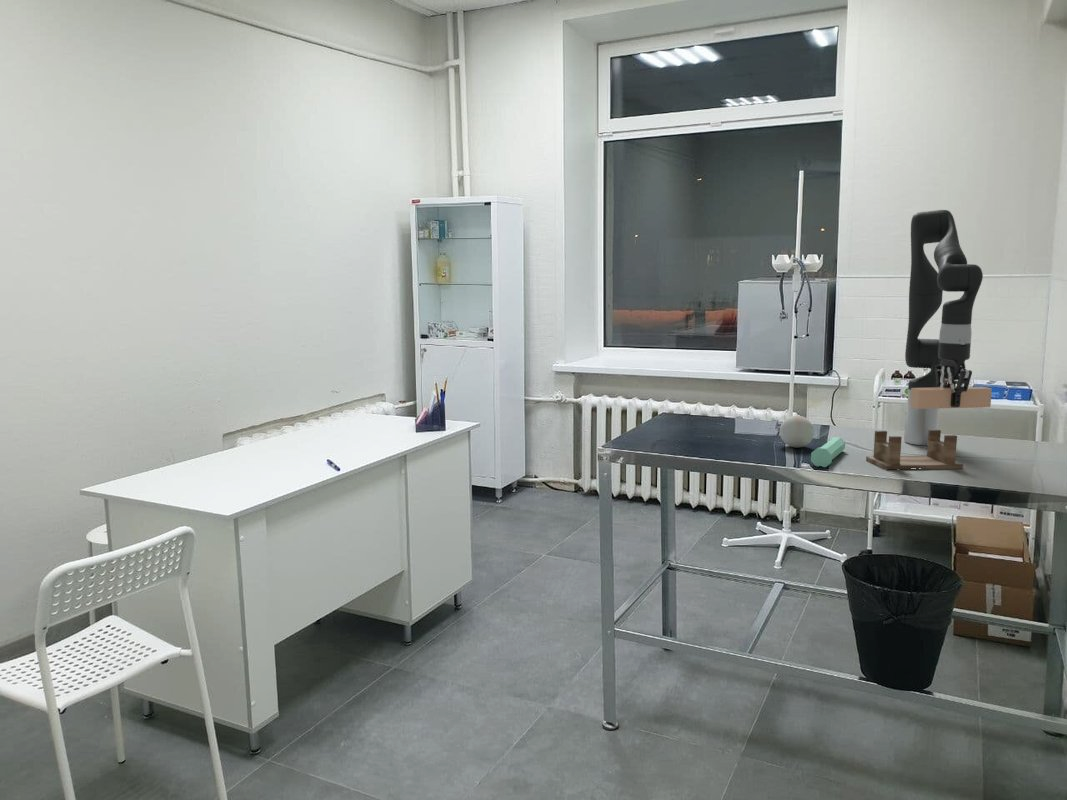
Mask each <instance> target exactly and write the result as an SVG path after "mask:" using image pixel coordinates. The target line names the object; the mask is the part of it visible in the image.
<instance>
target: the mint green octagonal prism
mask: <svg viewBox="0 0 1067 800" xmlns="http://www.w3.org/2000/svg"><path fill="white" fill-rule="evenodd" d="M845 449H846V441H845V440H844V439H843V438H842V437H840V436H839V437H838V436H834V437H833V438H831V439H830V440H829V441H828V442H826V443H825V444H823V445H822V446H821V447H817V448H816V449H814V450H813V451H812V452H811V453H810V461H811V463H813V465H814V466H815V467H819V466H822V468H827V467H828V466H829V465H831V464H832V462H833V461H832V460H834V459H835V458H836V457H837V456H839V455H840V453H842V452H843V451H844V450H845Z"/></svg>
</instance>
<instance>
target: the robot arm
mask: <svg viewBox="0 0 1067 800" xmlns="http://www.w3.org/2000/svg"><path fill="white" fill-rule="evenodd" d="M937 243H938V244H937ZM926 244H937V245H935V249H934V251H933V252H934V253H933V259H934V262H935V264H936V266H937V269H938V271H937V270H936V268H934V266H933V265H932V264H931V262H930V260H929V259H928V257H927V255H926V253H925V249H924V246H925V245H926ZM910 254H911V255H910V259H911V261H910V263H911V264H910V277H909V288H908V289H909V290H908V323H907V324H908V326H907V335H906V341H905V342H906V343H905V352H904V353H905V355H904V356H905V357H904V358H905V364H906V366H907V367H908V368H913V369H930V371H929V372H927V373H926V374H924V375H922V376H920V377H915V378H911V379H910V380H909V381H908V384H907V385H908V386H907V401H906V404H907V405H906V412H905V419H904V434H903V435H904V436H903V439H904V443H907V444H910V445H916V446H928V431H929V430H938V426H939V411H940V410H939V409H940V408H936V409H917V408H914V407H910V400H911V388H935V387H951V389H952V393H951V407H959V406H960V399H961V393H963V392H966V391H967V389H968V387H970V386H969V385H970V381H971V378H972V375H973V370H971V369H970V370H969V369H967V368H966V362H965V361H967V360H969V359H970V357H971V345H972V333H973V332H972V319H973V317H972V316H973V308H974V304H975V300H976V297H977V295H978V292H979V290H980V287H981V285H982V282H983V278H984V277H983V276H984V275H983V270H982V268H981V267H980V266H979V265H977V264H975V263H974V264H973V263H971V264H968V260H967V259H968V258H967V257H966V255H965V253H964V251H963V249H962V247H961V244H960V241H959V234H958V231H957V225H956V222H955V218H954V216H953V214H952V213H951V211H950V210H947V209H936V210H929V211H928V210H926V211H919V212H915V213H914V214H913V215H912V218H911V222H910ZM943 292H949V293H952V292H955V293H956V292H957V293H958V292H959V293H960V292H963V294H962V295H961V297H960V298H958V299H953V300H949V301H945V302H944V303H943V294H944V293H943ZM942 303H943V305H942ZM941 305H942V308H941ZM940 308H941V309H942V310H941V311H942V312H941V323H940V330H939V337H938V339H937V338H935V339H934V338H919V336H920V334H921V331H923V328H924V326H925V325H926V324H927V323H928V322H929V321H930V320H931V319H932V317H933V316H934V315H935V314H936V313H937V312H938V310H939V309H940Z"/></svg>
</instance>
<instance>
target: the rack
mask: <svg viewBox="0 0 1067 800" xmlns="http://www.w3.org/2000/svg"><path fill="white" fill-rule="evenodd" d="M941 434H942V430H940V429H937V430H929V431H928V445H926V446H927V449H926V455H925V454H923V455H922V454H921V455H920V454H919V455H901V454H902V453H901V451H902V436H900V435H897V436H896V435H892V436H891V435H890V436H888V431H887V430H874V443H873V455H871V456H870V455H869V456H866V457H865V461H867V462H869V463H870V464H872V465H875V466H877V467H879V468H880V469H881V468H882V469H883V470H885V469H886V471H889V470H888V469H891V470H890V471H893V470H892V469H911V468H916V470H952V469H953V470H956V469H959V470H960V469H963V468H964V463H960V462H959V461H956V457H957V443H958V436H957V435H956V434H948V435H946V434H945V435H943V440H941ZM887 438H888V439H887ZM919 468H921V469H919Z"/></svg>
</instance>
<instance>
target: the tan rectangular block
mask: <svg viewBox="0 0 1067 800" xmlns="http://www.w3.org/2000/svg"><path fill="white" fill-rule="evenodd" d="M992 390H993V388H991V387H986V386H968V389H967V391H966V392H963V393H961V399H960V406H959V407H951V393H952V389H951V387H935V388H911V400H910V407H914V408H917V409H936V408H939V409H970V408H971V409H973V408H974V409H976V408H978V409H979V408H980V409H981V408H991V404H992V393H993V392H992Z"/></svg>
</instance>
